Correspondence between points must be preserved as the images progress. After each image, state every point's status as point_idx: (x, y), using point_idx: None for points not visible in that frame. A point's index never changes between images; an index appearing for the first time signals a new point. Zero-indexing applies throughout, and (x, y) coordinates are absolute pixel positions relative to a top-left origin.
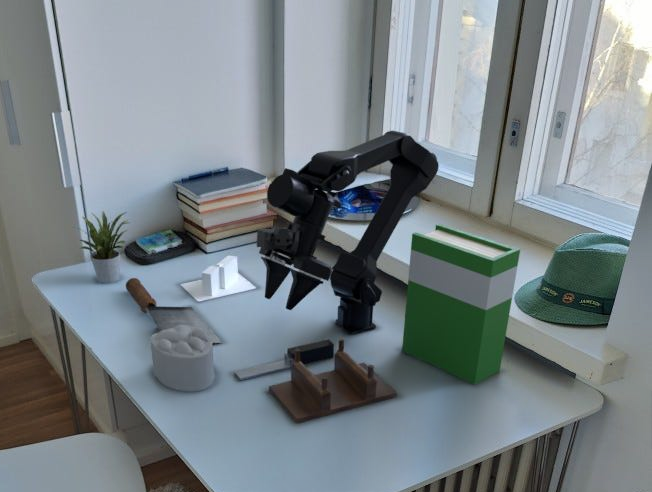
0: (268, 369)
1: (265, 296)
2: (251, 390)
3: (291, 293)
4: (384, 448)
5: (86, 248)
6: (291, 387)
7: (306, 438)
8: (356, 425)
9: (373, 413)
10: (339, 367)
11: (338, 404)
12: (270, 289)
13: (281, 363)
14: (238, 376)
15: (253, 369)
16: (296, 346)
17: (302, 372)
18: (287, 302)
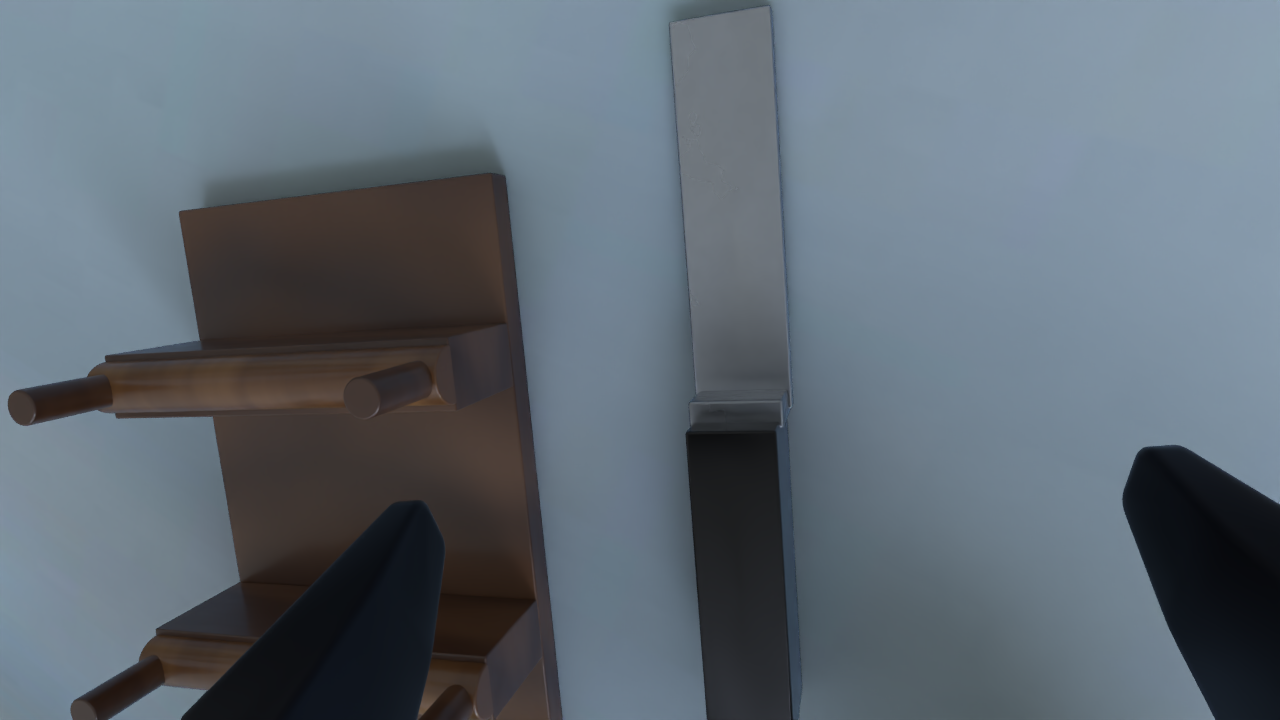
0: (710, 246)
1: (1152, 452)
2: (542, 71)
3: (229, 688)
4: (5, 475)
5: None
6: (438, 295)
7: (102, 212)
8: (143, 455)
9: (202, 565)
10: (455, 618)
11: (238, 451)
12: (1219, 596)
13: (752, 355)
14: (696, 17)
15: (749, 147)
16: (779, 506)
17: (306, 357)
18: (365, 555)
